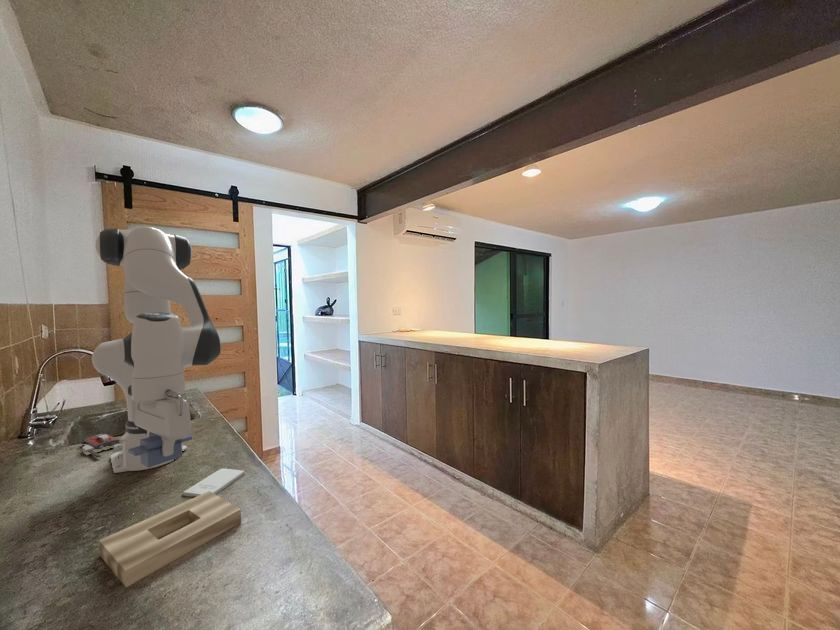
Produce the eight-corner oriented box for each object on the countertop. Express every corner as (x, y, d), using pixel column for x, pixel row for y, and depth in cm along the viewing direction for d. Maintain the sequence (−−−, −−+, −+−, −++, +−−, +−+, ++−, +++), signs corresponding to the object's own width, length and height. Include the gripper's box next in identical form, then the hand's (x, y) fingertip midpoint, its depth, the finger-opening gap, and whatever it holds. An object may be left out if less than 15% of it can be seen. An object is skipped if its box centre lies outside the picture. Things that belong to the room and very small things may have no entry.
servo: (128, 467, 67) (127, 439, 67) (184, 449, 76) (183, 424, 76) (135, 471, 65) (134, 442, 65) (192, 453, 74) (191, 427, 74)
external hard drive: (245, 476, 95) (209, 501, 83) (220, 473, 97) (182, 497, 85) (244, 470, 95) (208, 494, 83) (220, 467, 97) (182, 491, 85)
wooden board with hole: (99, 555, 64) (99, 540, 64) (209, 502, 81) (209, 490, 81) (126, 587, 57) (125, 570, 57) (241, 522, 74) (240, 509, 74)
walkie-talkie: (73, 449, 114) (94, 462, 104) (72, 436, 114) (94, 448, 104) (106, 440, 122) (129, 451, 112) (106, 428, 121) (129, 438, 111)
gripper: (199, 389, 67) (201, 457, 68) (158, 380, 78) (160, 438, 79) (162, 397, 62) (164, 469, 62) (123, 386, 73) (126, 448, 73)
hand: (161, 452), depth 71 cm, fingers closed on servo, 4 cm apart
